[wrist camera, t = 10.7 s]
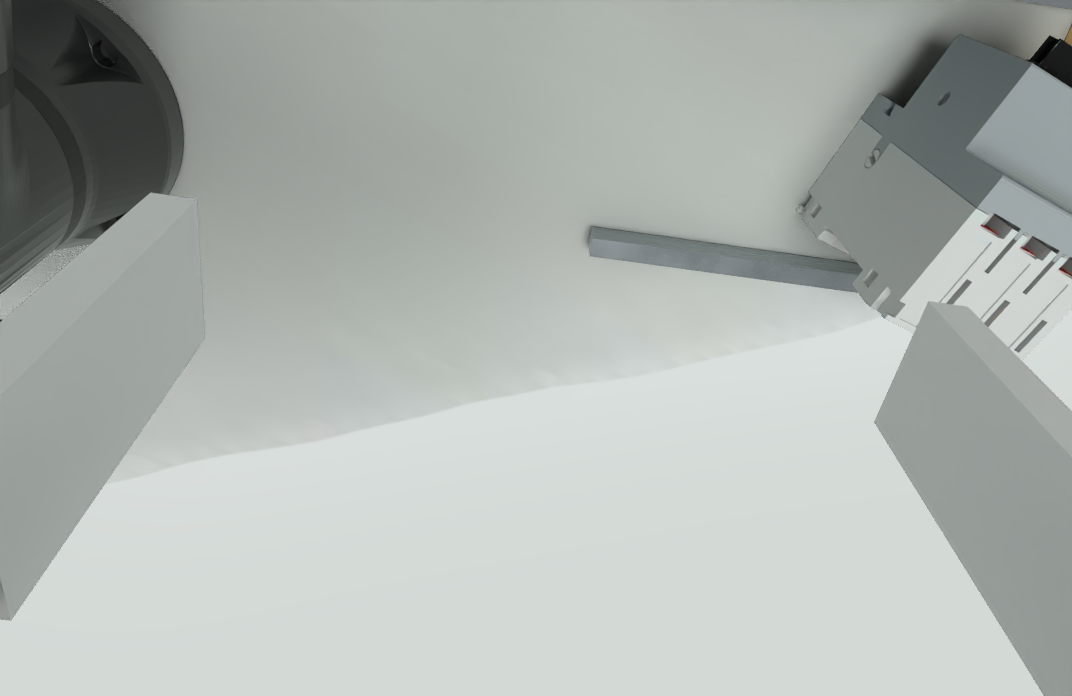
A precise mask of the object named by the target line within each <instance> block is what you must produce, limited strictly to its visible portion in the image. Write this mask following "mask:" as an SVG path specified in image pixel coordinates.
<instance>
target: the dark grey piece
mask: <svg viewBox="0 0 1072 696" xmlns="http://www.w3.org/2000/svg"><path fill="white" fill-rule="evenodd" d="M1018 1H1024V2H1030V3H1036V4H1042V5H1048V6H1054V7H1060V8H1066V9H1072V0H1018ZM588 247H589V255H590V256H593V257H600V258H608V259H615V260H622V261H630V262H637V263H644V264H652V265H659V266H666V267H674V268H681V269H688V270H696V271H703V272H710V273H718V274H725V275H732V276H739V277H747V278H754V279H761V280H769V281H776V282H783V283H791V284H798V285H805V286H813V287H820V288H827V289H835V290H842V291H849V292H857V291H856V289H855V288H854V287H853V285H852V283H853V282H854V281H855V280H856V278H857V277H858V276H859V275H860V273H861V272H862V271H863V269H862V268H861V267H860V266H859V264H858V263H851V262H844V261H837V260H830V259H822V258H815V257H808V256H801V255H794V254H787V253H779V252H772V251H765V250H758V249H751V248H743V247H736V246H729V245H722V244H715V243H708V242H700V241H693V240H686V239H679V238H672V237H665V236H657V235H650V234H643V233H636V232H629V231H622V230H614V229H607V228H600V227H593V226H591V230H590V236H589V241H588ZM857 293H858V292H857Z"/></svg>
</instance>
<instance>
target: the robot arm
mask: <svg viewBox="0 0 1072 696" xmlns="http://www.w3.org/2000/svg"><path fill="white" fill-rule="evenodd" d="M182 154H183V128H182V121H181V116H180V111H179V107H178V104H177V101H176V98H175V95H174V92H173V90H172V87H171V85H170V83H169V81H168V79H167V77H166V75H165V73H164V71H163V69H162V68H161V66H160V64H159V63H158V61H157V60H156V58H155V57H154V55H153V54H152V53H151V51H150V50H149V48H148V47H147V46H146V45H145V44H144V42H143V41H142V40H141V39H140V38H139V37H138V36H137V34H136V33H135V32H134V31H133V30H132V29H131V28H130V27H129V26H128V25H126V24H125V23H124V22H123V21H122V20H121V19H120V18H118V17H117V16H116V15H115V14H114V13H112V12H111V11H110V10H108V9H107V8H106V7H104V6H102V5H101V4H99V3H98V2H96V1H95V0H0V294H1V293H2V292H3V291H5V290H6V289H7V288H8V287H10V286H11V285H12V284H13V283H14V282H16V281H17V280H18V279H19V278H20V277H22V276H23V275H24V274H25V273H27V272H28V271H29V270H30V269H31V268H33V267H34V266H35V265H36V264H37V263H39V262H40V261H41V260H42V259H44V258H45V257H46V256H47V255H48V254H49V253H51V252H52V251H53V250H57V249H63V248H69V247H74V246H80V245H86V244H90V245H89V246H88V247H87V248H86V249H85V250H83V251H82V252H81V253H80V254H79V255H78V256H76V257H75V258H74V259H73V260H72V261H71V262H69V263H68V264H67V265H66V266H65V267H64V268H62V269H61V270H60V271H59V272H58V273H57V274H55V275H54V276H53V277H52V278H51V279H50V280H49V281H47V282H46V283H45V284H44V285H43V286H42V287H40V288H39V289H38V290H37V291H36V292H35V293H33V294H32V295H31V296H30V297H29V298H28V299H26V300H25V301H24V302H23V303H22V304H21V305H19V306H18V307H17V308H16V309H15V310H14V311H12V312H11V313H10V314H9V315H8V316H7V317H6V318H4V319H3V320H0V619H1V620H12V618H13V617H14V615H15V614H16V613H17V611H18V610H19V608H20V607H21V605H22V603H23V602H24V601H25V599H26V598H27V596H28V595H29V594H30V592H31V591H32V589H33V588H34V586H35V585H36V583H37V582H38V580H39V579H40V577H41V576H42V575H43V573H44V572H45V570H46V569H47V567H48V566H49V564H50V563H51V561H52V560H53V559H54V557H55V556H56V554H57V553H58V551H59V550H60V549H61V547H62V546H63V544H64V543H65V541H66V540H67V538H68V537H69V535H70V534H71V533H72V531H73V530H74V528H75V526H76V525H77V524H78V522H79V521H80V519H81V518H82V517H83V515H84V513H85V512H86V511H87V509H88V508H89V506H90V505H91V503H92V502H93V501H94V499H95V498H96V496H97V495H98V493H99V492H100V490H101V489H102V487H103V486H104V485H105V483H106V482H107V480H108V479H109V477H110V476H111V474H112V473H113V471H114V470H115V469H116V467H117V466H118V464H119V463H120V461H121V460H122V458H123V457H124V455H125V454H126V453H127V451H128V450H129V448H130V447H131V445H132V444H133V442H134V441H135V439H136V438H137V437H138V435H139V434H140V432H141V431H142V429H143V428H144V426H145V425H146V423H147V422H148V421H149V419H150V418H151V416H152V415H153V413H154V412H155V410H156V409H157V407H158V406H159V405H160V403H161V402H162V400H163V399H164V397H165V396H166V394H167V393H168V391H169V390H170V389H171V387H172V386H173V384H174V383H175V381H176V380H177V378H178V377H179V375H180V374H181V373H182V371H183V370H184V368H185V367H186V365H187V364H188V362H189V361H190V359H191V358H192V357H193V355H194V354H195V352H196V351H197V349H198V348H199V346H200V345H201V343H202V342H203V341H204V339H205V326H204V309H203V293H202V276H201V259H200V242H199V226H198V209H197V199H193V198H186V197H179V196H172V195H168V193H169V192H170V190H171V188H172V187H173V185H174V183H175V180H176V178H177V175H178V172H179V169H180V165H181V160H182ZM874 423H875V424H876V426H877V427H878V429H879V431H880V432H881V434H882V436H883V437H884V439H885V440H886V442H887V444H888V445H889V447H890V448H891V450H892V452H893V453H894V455H895V456H896V458H897V460H898V461H899V463H900V465H901V466H902V468H903V469H904V471H905V473H906V474H907V476H908V477H909V479H910V481H911V482H912V484H913V486H914V487H915V489H916V490H917V492H918V493H919V495H920V497H921V498H922V500H923V502H924V503H925V505H926V506H927V508H928V510H929V511H930V513H931V515H932V516H933V518H934V519H935V521H936V523H937V524H938V526H939V527H940V529H941V531H942V532H943V534H944V535H945V537H946V539H947V540H948V542H949V543H950V545H951V547H952V548H953V550H954V552H955V553H956V555H957V556H958V558H959V560H960V561H961V563H962V564H963V566H964V568H965V569H966V571H967V572H968V574H969V576H970V577H971V579H972V580H973V582H974V584H975V585H976V587H977V589H978V590H979V592H980V593H981V595H982V597H983V598H984V600H985V601H986V603H987V605H988V606H989V608H990V609H991V611H992V613H993V614H994V616H995V618H996V619H997V621H998V622H999V624H1000V626H1001V627H1002V629H1003V630H1004V632H1005V634H1006V635H1007V637H1008V639H1009V640H1010V642H1011V643H1012V645H1013V647H1014V648H1015V650H1016V651H1017V653H1018V654H1019V656H1020V658H1021V659H1022V661H1023V662H1024V664H1025V666H1026V667H1027V669H1028V671H1029V672H1030V674H1031V675H1032V677H1033V679H1034V680H1035V682H1036V683H1037V685H1038V687H1039V688H1040V690H1041V692H1042V693H1043V695H1044V696H1072V411H1071V410H1070V409H1069V408H1068V407H1067V406H1066V405H1065V404H1064V403H1063V402H1062V401H1061V400H1060V399H1059V398H1058V397H1057V396H1056V395H1055V394H1054V393H1053V392H1052V391H1051V390H1050V389H1049V388H1048V387H1047V386H1046V385H1045V384H1044V383H1043V382H1042V381H1041V380H1040V379H1039V378H1038V377H1037V376H1036V375H1035V374H1034V373H1033V372H1032V371H1031V370H1030V369H1029V368H1028V367H1027V366H1026V365H1025V364H1024V363H1023V362H1022V361H1021V360H1020V359H1019V358H1018V357H1017V356H1016V355H1015V354H1014V353H1013V352H1012V351H1011V350H1010V349H1009V348H1008V347H1007V346H1006V345H1005V344H1004V343H1003V342H1002V341H1001V340H1000V339H999V338H998V337H997V336H996V335H995V334H994V333H993V332H992V331H991V330H990V329H989V328H988V327H987V326H986V325H985V324H984V323H983V322H982V321H981V320H980V319H979V318H978V317H977V316H976V314H975V313H974V312H973V311H972V310H971V309H970V308H969V307H967V306H959V305H952V304H945V303H938V302H931V301H928V303H927V305H926V307H925V310H924V312H923V314H922V316H921V319H920V321H919V323H918V325H917V328H916V330H915V332H914V334H913V336H912V339H911V341H910V343H909V346H908V348H907V350H906V352H905V354H904V357H903V359H902V361H901V363H900V366H899V368H898V370H897V372H896V375H895V377H894V379H893V381H892V383H891V386H890V388H889V390H888V392H887V395H886V397H885V399H884V401H883V404H882V406H881V408H880V410H879V413H878V415H877V417H876V419H875V421H874Z"/></svg>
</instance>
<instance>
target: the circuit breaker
mask: <svg viewBox="0 0 1072 696" xmlns="http://www.w3.org/2000/svg"><path fill="white" fill-rule="evenodd" d="M862 119H863V120H862ZM809 193H810V194H811V196H812V197H811V199H810V200H809V201H808V203H807V204H806V205H805V207H804V206H802V205H801V204H799V206H798V207H797V209H796V211H797V212H798V213H800V214H802V215H803V216H804V217H803V220H804V222H805V223H806V224H807V226H808V227H809V228H810V230H811V231H812V232H813V234H814V235H815V236H816V238H818V239H820V240H822V241H824V242H825V243H827V244H829V245H831V246H833V247H835V248H837V249H839V250H841V251H843V252H844V253H846V254H848V255H850V256H852V257H853V258H854V260H855V261H856V262H857V263H858V264H859V266H860V267H861V268H862V269H863V271H862V272H861V273H860V275H859V276H858V277H857V278H856V280H855V281H854V282H853V283H852V285H853V287H854V288H855V289H856V291H857V292H858V293H859V294H860V296H861V297H862V298H863V300H864V301H865V302H866V304H868V305H869V306H870V307H872V308H874V309H876V310H877V311H878V312H880V313H881V314H882V317H883V318H884V319H886V320H888V321H890V322H892V323H894V324H896V325H898V326H900V327H902V328H904V329H906V330H908V331H910V332H912V333H914V332H915V330H916V328H917V325H918V323H919V321H920V319H921V316H922V314H923V312H924V310H925V307H926V305H927V303H928V301H931V302H938V303H945V304H952V305H959V306H967V307H969V308H970V309H971V310H972V311H973V312H974V313H975V314H976V316H977V317H978V318H979V319H980V320H981V321H982V322H983V323H984V324H985V325H986V326H987V327H988V328H989V329H990V330H991V331H992V332H993V333H994V334H995V335H996V336H997V337H998V338H999V339H1000V340H1001V341H1002V342H1003V343H1004V344H1005V345H1006V346H1007V347H1008V348H1009V349H1010V350H1011V351H1012V352H1013V353H1014V354H1015V355H1016V356H1017V357H1018V358H1019V359H1020V360H1021V361H1023V360H1024V359H1025V358H1026V357H1027V356H1028V355H1029V354H1030V352H1031V351H1032V350H1033V349H1034V348H1035V347H1036V346H1037V345H1038V344H1039V343H1040V342H1041V341H1042V340H1043V339H1044V338H1045V337H1046V336H1047V335H1048V334H1049V333H1050V331H1051V330H1052V329H1053V328H1054V327H1055V326H1056V325H1057V324H1058V323H1059V322H1060V321H1061V320H1062V319H1063V318H1064V317H1065V316H1066V315H1067V314H1068V313H1069V312H1070V310H1072V46H1071V45H1069V44H1068V43H1066V42H1065V41H1063V40H1061V39H1059V40H1058V39H1056V38H1054V37H1052V36H1049V37H1048V38H1047V39H1046V41H1045V42H1044V43H1043V44H1042V46H1041V47H1040V48H1039V49H1038V51H1037V52H1036V53H1035V54H1034V55H1033V57H1032V58H1031V59H1030V60H1024V59H1022V58H1019V57H1017V56H1014V55H1011V54H1009V53H1006V52H1004V51H1001V50H999V49H996V48H993V47H991V46H988V45H986V44H983V43H981V42H978V41H975V40H973V39H970V38H968V37H965V36H963V35H960V34H959V35H958V36H957V37H956V38H955V39H954V41H953V42H952V43H951V45H950V46H949V47H948V49H947V50H946V51H945V53H944V54H943V56H942V57H941V58H940V60H939V61H938V62H937V64H936V65H935V66H934V68H933V69H932V70H931V72H930V73H929V74H928V76H927V77H926V79H925V80H924V81H923V83H922V84H921V85H920V87H919V88H918V89H917V91H916V92H915V93H914V95H913V96H912V97H911V99H910V100H909V102H908V103H907V104H906V106H905V107H904V108H903V107H901V106H900V105H898V104H896V103H894V102H893V101H891V100H889V99H888V98H886V97H884V96H882V95H881V94H878V95H877V96H876V98H875V99H874V100H873V102H872V103H871V105H870V106H869V107H868V109H867V110H866V112H865V113H864V114H863V116H862V117H861V119H860V120H859V121H858V123H857V124H856V126H855V127H854V128H853V130H852V131H851V133H850V134H849V135H848V137H847V138H846V140H845V141H844V143H843V144H842V145H841V147H840V148H839V150H838V151H837V152H836V154H835V155H834V157H833V158H832V159H831V161H830V162H829V164H828V165H827V166H826V168H825V169H824V171H823V172H822V173H821V175H820V176H819V178H818V179H817V180H816V182H815V183H814V185H813V186H812V187H811V189H810V190H809ZM817 213H818V214H817Z"/></svg>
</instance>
